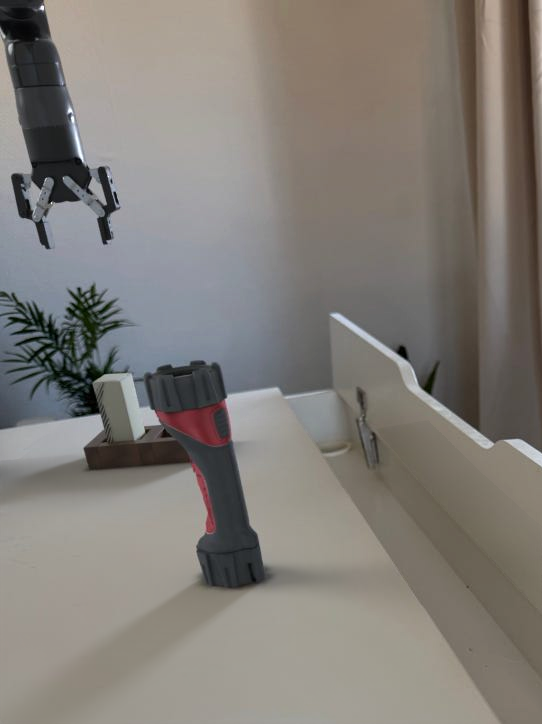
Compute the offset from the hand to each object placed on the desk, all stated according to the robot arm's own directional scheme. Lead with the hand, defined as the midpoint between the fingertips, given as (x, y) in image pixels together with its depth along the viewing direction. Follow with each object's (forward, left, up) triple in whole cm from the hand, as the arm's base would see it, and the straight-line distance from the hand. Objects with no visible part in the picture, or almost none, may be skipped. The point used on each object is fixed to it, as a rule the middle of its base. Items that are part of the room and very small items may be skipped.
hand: (78, 246), depth 146 cm
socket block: (+8, -11, -30) cm, 33 cm away
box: (+4, -11, -30) cm, 32 cm away
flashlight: (+28, -61, -30) cm, 74 cm away
